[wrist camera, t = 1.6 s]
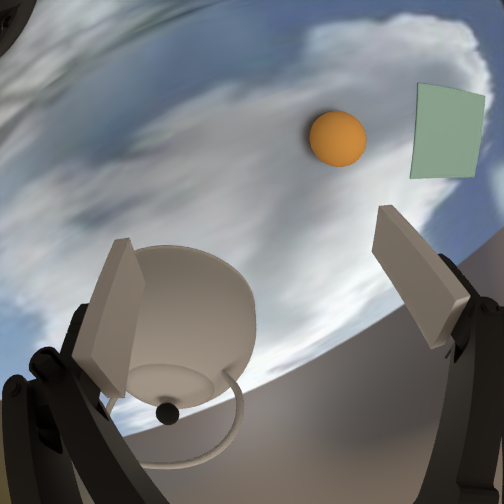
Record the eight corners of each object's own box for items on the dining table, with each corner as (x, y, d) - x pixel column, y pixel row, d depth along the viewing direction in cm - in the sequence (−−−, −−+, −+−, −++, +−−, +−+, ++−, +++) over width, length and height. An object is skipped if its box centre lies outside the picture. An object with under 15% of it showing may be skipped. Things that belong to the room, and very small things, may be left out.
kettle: (136, 368, 49) (126, 486, 31) (57, 278, 36) (1, 422, 18) (271, 338, 47) (298, 473, 29) (222, 220, 34) (237, 415, 16)
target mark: (417, 82, 26) (418, 83, 26) (484, 95, 26) (485, 96, 26) (409, 178, 33) (410, 178, 33) (473, 176, 33) (474, 177, 33)
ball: (301, 107, 27) (319, 117, 23) (352, 106, 28) (377, 117, 23) (303, 158, 31) (319, 177, 26) (351, 155, 31) (374, 173, 26)
